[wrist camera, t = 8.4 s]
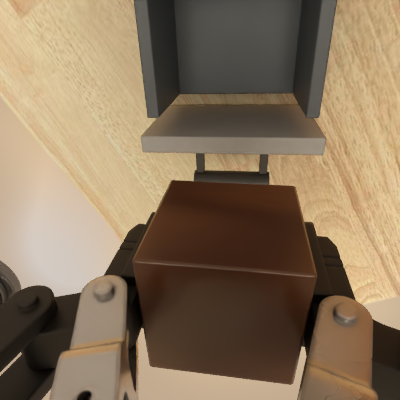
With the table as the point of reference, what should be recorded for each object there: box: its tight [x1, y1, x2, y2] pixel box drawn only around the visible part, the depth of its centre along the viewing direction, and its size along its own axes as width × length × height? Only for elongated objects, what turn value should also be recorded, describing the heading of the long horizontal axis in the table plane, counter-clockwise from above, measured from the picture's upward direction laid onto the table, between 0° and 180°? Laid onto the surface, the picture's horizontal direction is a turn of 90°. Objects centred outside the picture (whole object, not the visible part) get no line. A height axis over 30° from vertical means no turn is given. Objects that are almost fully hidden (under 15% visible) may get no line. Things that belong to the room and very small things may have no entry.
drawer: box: [134, 0, 337, 185], centre depth 23 cm, size 18×12×9 cm
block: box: [132, 180, 317, 385], centre depth 11 cm, size 4×4×4 cm
